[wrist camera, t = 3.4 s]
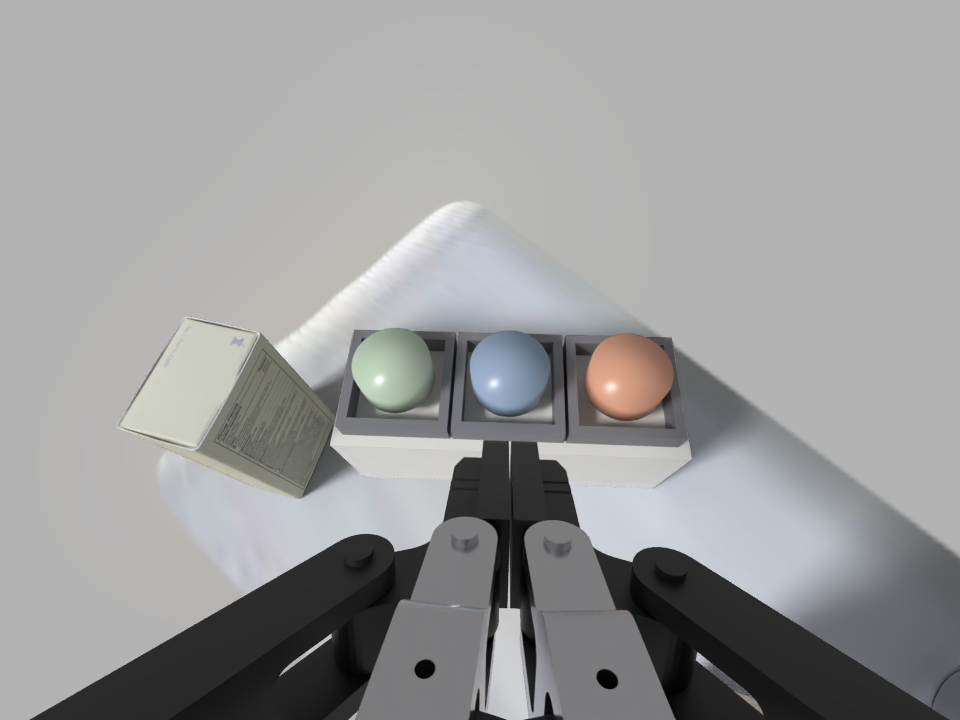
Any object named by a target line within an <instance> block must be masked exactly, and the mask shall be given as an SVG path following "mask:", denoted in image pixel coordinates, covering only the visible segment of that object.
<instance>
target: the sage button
mask: <svg viewBox="0 0 960 720" xmlns="http://www.w3.org/2000/svg"><path fill="white" fill-rule="evenodd" d="M352 374H353V377H354V380H355V382H356V383H357V385H358V386H359V388H360V390H361V391H362V393H363V394H364V396H365V397H366V399H367V400H368V401H369V403H370V404H371V405H373V406H374V407H375V408H377V409H379V410H381V411H384V412H388V413H402V412H406V411H409V410H412V409H414V408H416V407H417V406H419V405H420V404H422V403H423V402H424V401H425V400H426V399H427V397H428V396H429V395H430V393H431V391H432V389H433V386H434V383H435V371H434V367H433V363H432V360H431V356H430V352H429V349H428V347H427V345H426V343H425V342H424V340H423V339H422V338H421V337H420V336H418V335H417V334H415V333H414V332H412V331H409V330H406V329H402V328H389V329H384V330H380V331H378V332H376V333H374V334H372V335H370V336H369V337H367V338H366V339H365V340H364V341H363V342H362V343H361V344H360V345H359V347H358V348H357V350H356V351H355V354H354V356H353V359H352Z"/></svg>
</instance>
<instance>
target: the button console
mask: <svg viewBox="0 0 960 720" xmlns="http://www.w3.org/2000/svg"><path fill="white" fill-rule="evenodd" d="M378 331H380V330H354V333H353V335H352V340H351V345H350V350H349V354H348V359H347V364H346V369H345V374H344V379H343V384H342V389H341V393H340V398H339V403H338V408H337V413H336V418H335V423H334V428H333V432H332V437H331V442H330V446H331V447H333V448H334V449H335V450H336V451H337V452H338V453H339V454H340V455H341V456H342V457H343V458H344V459H345V460H346V461H348V462H349V463H350V464H351V465H352V466H353V467H354V468H355V469H356V470H357V471H358V472H359V473H360V474H362V475H363V476H366V477H390V478H413V479H437V480H452V476H453V471H454V466H455V465H456V464H457V463H458V462H459V461H460V460H461V459H462V458H463V457H478V458H482V449H483V440H496V441H509V473H510V455H511V441H530V442H537V444H538V452H539V459H540V460H557V461H558V462H559V463H560V464H561V466H562V467H563V468H564V469H565V470H566V471H567V476H568V480H569V484H570V485H577V486H600V487H624V488H647V489H652V488H654V487H655V486H656V485H658V484H659V483H661V482H662V481H663V480H665V479H666V478H667V477H669V476H670V475H671V474H673V473H674V472H675V471H677V470H678V469H679V468H681V467H682V466H684V465H685V464H686V463H688V462H689V461H690V460H692V456H691V450H690V444H689V438H688V432H687V426H686V419H685V413H684V407H683V401H682V395H681V389H680V382H679V376H678V370H677V364H676V358H675V351H674V345H673V341H672V338H663V337H646V338H648V339H650V340H652V341H654V342H655V343H656V344H658V345H659V346H660V347H661V348H662V349H663V350H664V351H665V352H666V354H667V355H668V357H669V359H670V360H671V363H672V366H673V371H674V379H673V384H672V386H671V389H670V390H669V392H668V393H667V394H666V396H665V397H664V398H663V399H662V401H661V402H660V403H659V404H658V406H657V407H656V408H655V409H654V410H653V411H652V412H651V413H650V414H649V415H647V416H646V417H644V418H642V419H639V420H634V421H620V420H615V419H613V418H610V417H608V416H606V415H604V414H602V413H601V412H600V411H598V410H597V409H596V408H595V407H594V406H593V405H592V403H591V402H590V400H589V399H588V397H587V394H586V391H585V386H584V379H585V374H586V371H587V368H588V366H589V363H590V360H591V358H592V355H593V353H594V351H595V349H596V348H597V346H598V345H599V344H600V343H601V342H603V341H604V340H605V339H607V338H609V337H611V336H584V335H566V336H565V338H562V335H544V334H527V335H529V336H531V337H533V338H534V339H536V340H537V341H538V342H539V343H540V344H541V345H542V346H543V347H544V349H545V351H546V352H547V355H548V357H549V361H550V373H549V377H548V382H547V386H546V391H545V394H544V397H543V398H542V400H541V402H540V403H539V404H538V405H537V406H536V407H535V408H534V409H533V410H532V411H530V412H528V413H526V414H524V415H521V416H516V417H503V416H498V415H495V414H493V413H491V412H489V411H488V410H486V409H485V408H484V407H482V406H481V405H480V403H479V402H478V401H477V399H476V397H475V395H474V393H473V389H472V382H471V374H470V359H471V356H472V353H473V351H474V349H475V348H476V346H477V345H478V344H479V343H480V342H481V341H482V340H483V339H485V338H486V337H488V336H490V335H492V334H494V333H465V332H459V336H456V334H455V332H425V331H412V332H414V333H415V334H417V335H418V336H420V337H421V338H422V339H423V340H424V342H425V343H426V345H427V347H428V349H429V352H430V356H431V360H432V363H433V367H434V371H435V383H434V386H433V389H432V391H431V393H430V395H429V396H428V397H427V399H426V400H425V401H424V402H423V403H422V404H420V405H419V406H417V407H416V408H414V409H412V410H409V411H406V412H402V413H388V412H384V411H381V410H379V409H377V408H375V407H374V406H373V405H371V404H370V403H369V401H368V400H367V399H366V397H365V396H364V394H363V393H362V391H361V390H360V388H359V386H358V385H357V383H356V382H355V380H354V377H353V374H352V359H353V356H354V354H355V351H356V350H357V348H358V347H359V345H360V344H361V343H362V342H363V341H364V340H365V339H366V338H367V337H369V336H370V335H372V334H374V333H376V332H378Z"/></svg>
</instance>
